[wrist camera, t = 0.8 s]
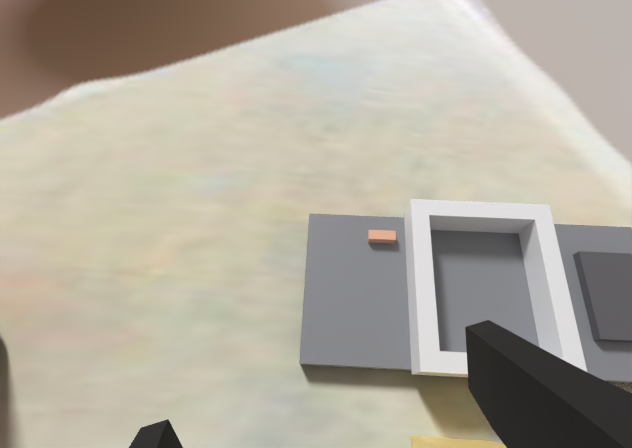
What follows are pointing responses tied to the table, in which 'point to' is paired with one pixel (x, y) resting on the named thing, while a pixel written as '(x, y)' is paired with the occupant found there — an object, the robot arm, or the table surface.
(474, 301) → the grey boxy piece
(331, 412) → the table surface
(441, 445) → the plug
